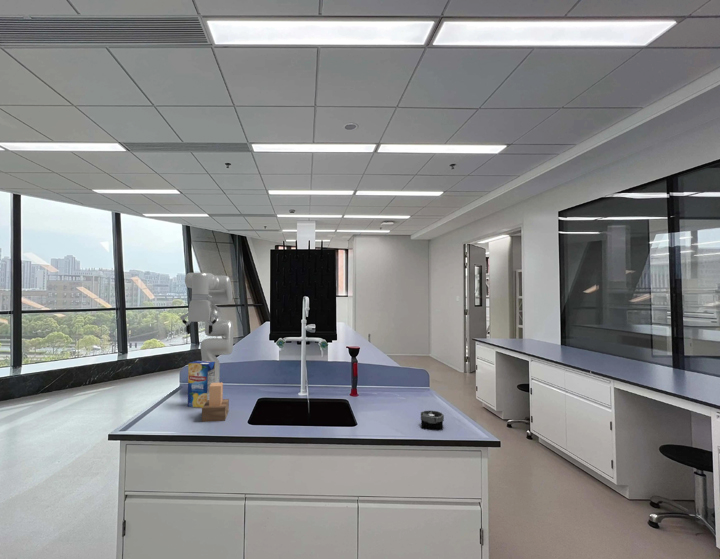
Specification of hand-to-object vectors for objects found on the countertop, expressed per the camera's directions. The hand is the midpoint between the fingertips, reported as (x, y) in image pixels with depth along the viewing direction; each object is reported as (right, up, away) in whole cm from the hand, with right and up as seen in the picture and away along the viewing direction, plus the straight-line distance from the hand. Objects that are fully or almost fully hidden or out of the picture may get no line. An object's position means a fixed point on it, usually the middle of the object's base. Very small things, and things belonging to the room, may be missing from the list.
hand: (199, 333), depth 193 cm
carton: (+10, -32, -5) cm, 34 cm away
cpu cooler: (+110, -39, -15) cm, 117 cm away
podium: (+10, -38, -5) cm, 40 cm away
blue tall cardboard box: (-4, -39, +13) cm, 41 cm away
